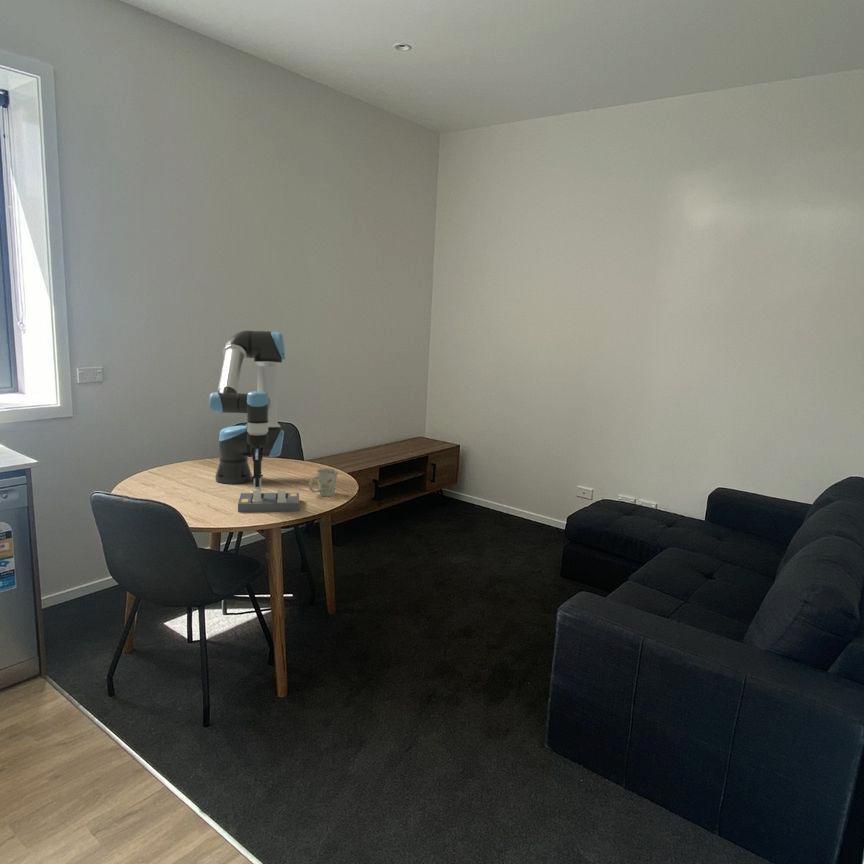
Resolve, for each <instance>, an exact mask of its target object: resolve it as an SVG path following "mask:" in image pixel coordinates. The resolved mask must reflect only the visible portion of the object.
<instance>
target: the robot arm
mask: <svg viewBox="0 0 864 864" xmlns="http://www.w3.org/2000/svg"><path fill="white" fill-rule="evenodd" d="M222 356H223V362H222V366H221V367H222V368H221V372H220V377H219V383H218V387H217V391H215V392H211V393H210V395H209V398H208V399H209V409H210V411H211V412H212V413H221V414H224V413H225V414H227V413H228V414H234V413H236V414H246V415H247V416H246V417H247V419H246V422H247V423H246V424H245V425H232V426H227V427H224V428H222V429H220V431H219V438H218V443H219V445H218V447H219V463H218V467H217V469H216V472H215V477H214V478H215V482H217V483H221V484H227V485H239V484H245V483H248V482H251V481H252V479H253V489H261V490H262V478H263V477H264V474H262V461H263V457H264V458H271V457H279V456H280V455H281V453H282V448H283V444H284V442H283V441H284V436H285V435H284V434H285V431H284V430H283V429H282V427H281V425H280V424H279V423H278V396H279V394H278V393H279V392H278V391H279V390H278V389H279V367H280V366H281V365H283V360H286V349H285V343H284V337H283V334H282V333H281V332H279V331H267V330H266V331H264V330H241V331H239V332H236V333H235V334H234V335H232V336H231V337H230V338H229V339H228V340H227V341H226V343H225V344H224V345H223V350H222ZM247 358H248V359H253V362H254V364H255V365H256V367H257V380H256V382H257V383H256V384H257V385H256V386H257V388H256V389H257V390H256V391H255V390H254V391H249V392H248V393H239V389H240V385H241V383H240V382H241V376H242V371H243V365H244V362H245V361H246V359H247ZM248 457H252V461H253V464H252V465H253V467H252V468H253V472H252V471H251V467H250V465H249V460H248V459H249V458H248Z"/></svg>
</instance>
